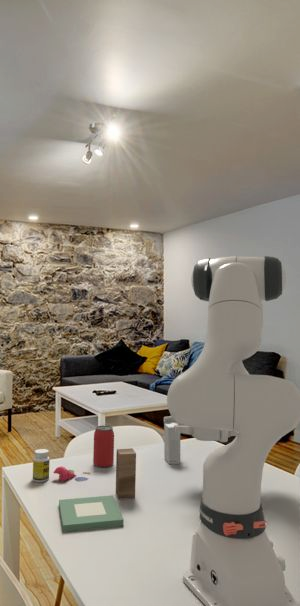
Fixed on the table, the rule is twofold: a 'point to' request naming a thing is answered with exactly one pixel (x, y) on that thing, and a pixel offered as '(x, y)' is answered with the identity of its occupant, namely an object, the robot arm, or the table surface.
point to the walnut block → (125, 473)
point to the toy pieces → (69, 474)
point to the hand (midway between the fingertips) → (169, 424)
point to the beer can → (103, 446)
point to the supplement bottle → (41, 465)
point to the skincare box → (171, 444)
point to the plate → (89, 513)
